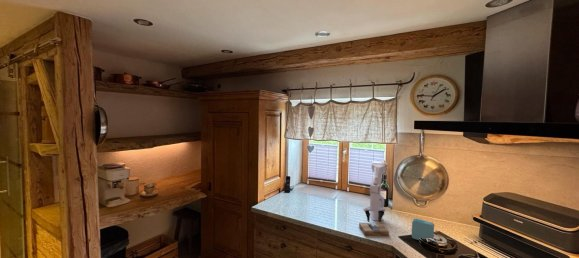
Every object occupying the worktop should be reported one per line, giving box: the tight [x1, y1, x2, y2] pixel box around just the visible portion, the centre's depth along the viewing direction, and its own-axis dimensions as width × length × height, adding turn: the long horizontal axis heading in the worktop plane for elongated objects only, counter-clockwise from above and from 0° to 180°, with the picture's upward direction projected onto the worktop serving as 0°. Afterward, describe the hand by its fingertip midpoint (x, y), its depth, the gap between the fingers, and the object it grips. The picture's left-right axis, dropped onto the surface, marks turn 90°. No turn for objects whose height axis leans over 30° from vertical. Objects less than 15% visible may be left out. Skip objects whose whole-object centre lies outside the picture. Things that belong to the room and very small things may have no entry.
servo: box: [368, 222, 379, 230], centre depth 158 cm, size 9×4×6 cm, turn 2°
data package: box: [411, 218, 435, 241], centre depth 149 cm, size 12×4×12 cm, turn 55°
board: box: [358, 222, 390, 237], centre depth 158 cm, size 12×16×3 cm
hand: (373, 221), depth 158 cm, fingers open, 7 cm apart
